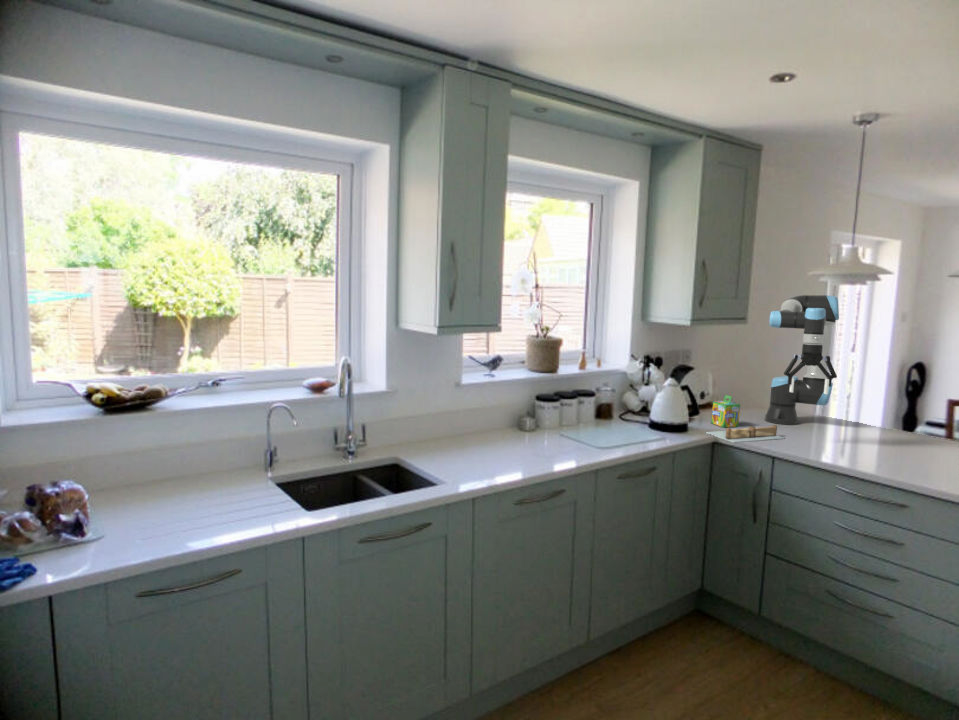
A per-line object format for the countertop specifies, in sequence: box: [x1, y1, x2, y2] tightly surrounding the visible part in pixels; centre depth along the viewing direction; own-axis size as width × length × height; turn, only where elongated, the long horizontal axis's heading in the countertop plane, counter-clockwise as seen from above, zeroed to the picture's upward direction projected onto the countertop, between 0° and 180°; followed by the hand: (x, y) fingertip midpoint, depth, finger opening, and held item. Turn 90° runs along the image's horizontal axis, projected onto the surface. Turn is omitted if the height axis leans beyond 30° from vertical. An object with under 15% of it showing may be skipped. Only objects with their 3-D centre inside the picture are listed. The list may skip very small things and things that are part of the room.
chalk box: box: [710, 394, 741, 429], centre depth 287 cm, size 9×9×15 cm
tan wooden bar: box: [725, 427, 750, 439], centre depth 261 cm, size 12×2×4 cm, turn 108°
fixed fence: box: [748, 424, 778, 438], centre depth 265 cm, size 2×15×5 cm, turn 108°
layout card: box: [705, 430, 785, 444], centre depth 268 cm, size 18×28×1 cm, turn 108°
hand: (808, 393), depth 253 cm, fingers open, 13 cm apart
